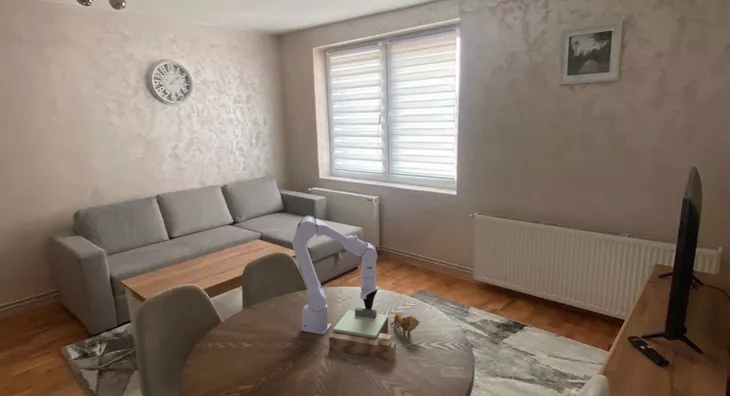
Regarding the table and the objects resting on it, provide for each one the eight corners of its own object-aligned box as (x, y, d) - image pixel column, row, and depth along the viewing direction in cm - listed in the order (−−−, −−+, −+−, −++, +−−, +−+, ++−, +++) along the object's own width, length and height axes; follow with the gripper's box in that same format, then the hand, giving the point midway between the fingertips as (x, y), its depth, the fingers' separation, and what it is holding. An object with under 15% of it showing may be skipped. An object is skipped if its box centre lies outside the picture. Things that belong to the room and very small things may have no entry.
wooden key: (377, 344, 142) (377, 337, 141) (380, 339, 144) (380, 333, 144) (389, 346, 140) (389, 339, 140) (391, 341, 143) (391, 334, 143)
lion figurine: (421, 339, 155) (421, 316, 153) (410, 343, 152) (410, 320, 150) (395, 323, 167) (395, 302, 165) (384, 327, 164) (385, 305, 162)
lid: (333, 331, 150) (333, 322, 150) (348, 312, 165) (348, 303, 165) (376, 338, 145) (376, 329, 145) (387, 317, 160) (388, 309, 160)
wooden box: (329, 350, 148) (329, 336, 147) (348, 324, 166) (348, 312, 165) (392, 361, 141) (392, 347, 140) (405, 333, 159) (405, 320, 158)
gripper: (373, 284, 153) (373, 318, 155) (383, 270, 166) (383, 302, 169) (355, 281, 155) (355, 316, 157) (366, 268, 168) (366, 300, 171)
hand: (368, 308), depth 163 cm, fingers closed
